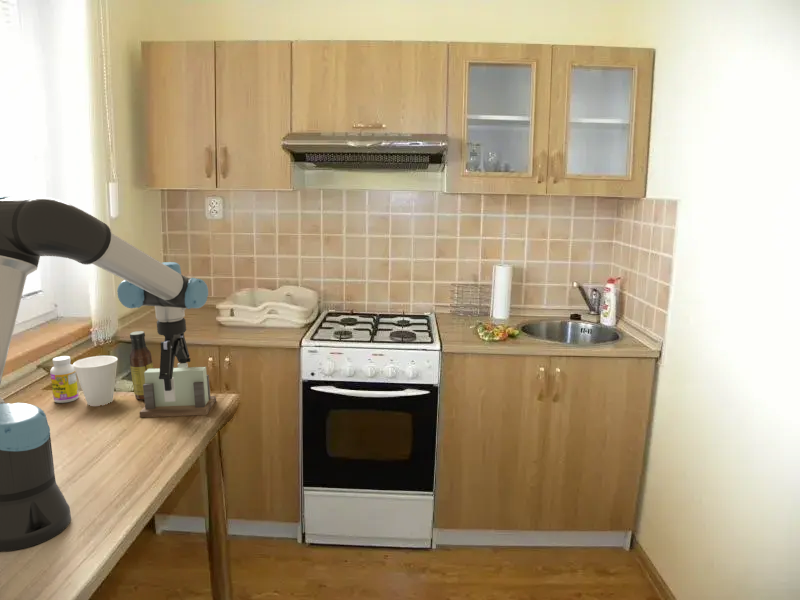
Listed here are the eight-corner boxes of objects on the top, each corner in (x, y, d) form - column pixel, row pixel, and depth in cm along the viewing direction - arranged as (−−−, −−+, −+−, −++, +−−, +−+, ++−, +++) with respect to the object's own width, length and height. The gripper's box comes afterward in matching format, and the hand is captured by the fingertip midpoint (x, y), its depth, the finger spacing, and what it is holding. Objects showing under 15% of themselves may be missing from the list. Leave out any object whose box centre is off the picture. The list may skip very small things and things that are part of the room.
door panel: (205, 404, 183) (202, 370, 181) (147, 406, 182) (144, 372, 180) (208, 400, 186) (206, 366, 184) (151, 402, 185) (148, 368, 183)
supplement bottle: (48, 402, 192) (43, 360, 189) (66, 395, 198) (61, 354, 195) (66, 404, 189) (61, 362, 187) (84, 397, 196) (79, 355, 193)
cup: (112, 392, 199) (107, 353, 197) (129, 401, 191) (124, 360, 189) (71, 402, 191) (66, 362, 189) (87, 412, 183) (82, 370, 180)
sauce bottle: (152, 391, 199) (146, 328, 195) (160, 397, 194) (153, 332, 190) (130, 396, 195) (123, 332, 191) (137, 402, 190) (130, 336, 186)
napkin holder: (206, 414, 179) (204, 385, 178) (140, 417, 179) (136, 387, 177) (215, 400, 190) (213, 372, 188) (153, 402, 189) (150, 374, 188)
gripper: (171, 329, 167) (178, 408, 171) (196, 308, 192) (202, 378, 196) (141, 330, 167) (149, 409, 171) (170, 309, 191) (176, 379, 195)
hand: (177, 392), depth 183 cm, fingers open, 13 cm apart
